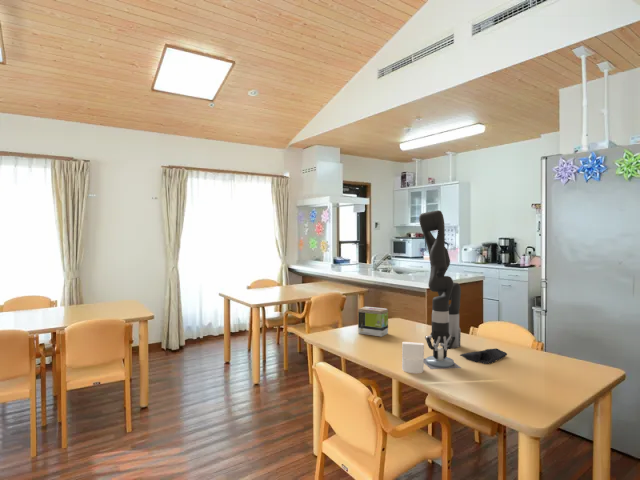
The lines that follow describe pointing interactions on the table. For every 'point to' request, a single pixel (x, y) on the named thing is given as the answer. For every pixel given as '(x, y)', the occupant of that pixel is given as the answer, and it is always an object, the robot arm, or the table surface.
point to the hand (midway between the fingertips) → (439, 358)
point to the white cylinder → (412, 357)
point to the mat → (439, 367)
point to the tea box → (373, 321)
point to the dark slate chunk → (485, 356)
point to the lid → (440, 360)
